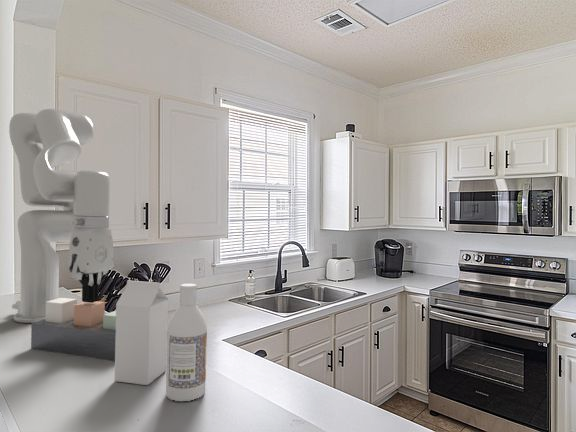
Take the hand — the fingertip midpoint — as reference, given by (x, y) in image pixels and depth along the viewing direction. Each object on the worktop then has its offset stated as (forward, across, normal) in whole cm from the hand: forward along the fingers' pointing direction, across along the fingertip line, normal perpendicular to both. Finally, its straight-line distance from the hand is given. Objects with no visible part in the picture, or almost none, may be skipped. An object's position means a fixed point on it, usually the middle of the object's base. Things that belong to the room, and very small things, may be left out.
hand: (90, 301), depth 94 cm
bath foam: (+12, -14, -33) cm, 37 cm away
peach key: (+6, 0, 0) cm, 6 cm away
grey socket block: (+11, 0, 0) cm, 11 cm away
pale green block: (+8, 0, -8) cm, 11 cm away
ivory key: (+7, 0, +8) cm, 10 cm away
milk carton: (+11, -10, -21) cm, 26 cm away
